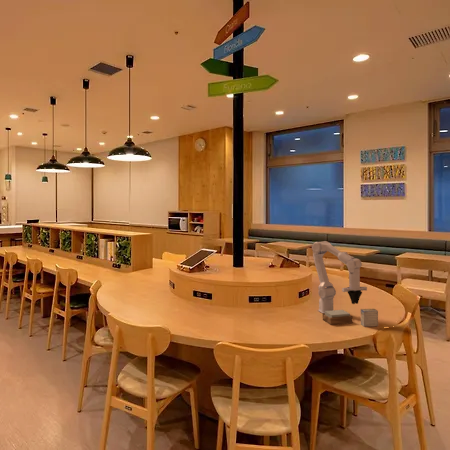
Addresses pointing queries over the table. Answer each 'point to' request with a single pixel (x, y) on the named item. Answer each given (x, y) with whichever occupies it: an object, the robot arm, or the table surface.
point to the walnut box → (337, 320)
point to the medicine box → (369, 317)
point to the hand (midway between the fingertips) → (354, 303)
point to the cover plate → (336, 313)
